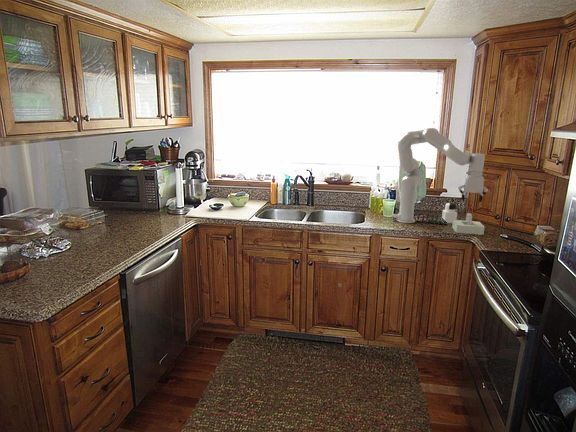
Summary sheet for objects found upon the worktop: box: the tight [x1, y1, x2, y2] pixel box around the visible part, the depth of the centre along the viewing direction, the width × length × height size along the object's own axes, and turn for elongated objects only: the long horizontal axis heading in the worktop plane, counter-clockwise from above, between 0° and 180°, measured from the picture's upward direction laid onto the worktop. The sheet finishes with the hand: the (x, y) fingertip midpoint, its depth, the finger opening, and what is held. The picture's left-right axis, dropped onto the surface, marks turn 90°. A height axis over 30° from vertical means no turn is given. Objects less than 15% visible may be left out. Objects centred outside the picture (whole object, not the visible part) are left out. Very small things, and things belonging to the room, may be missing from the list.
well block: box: [451, 219, 486, 236], centre depth 252 cm, size 16×13×5 cm
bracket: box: [465, 212, 473, 225], centre depth 252 cm, size 5×6×11 cm
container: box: [441, 202, 458, 224], centre depth 272 cm, size 8×8×13 cm
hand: (471, 201), depth 248 cm, fingers open, 9 cm apart
